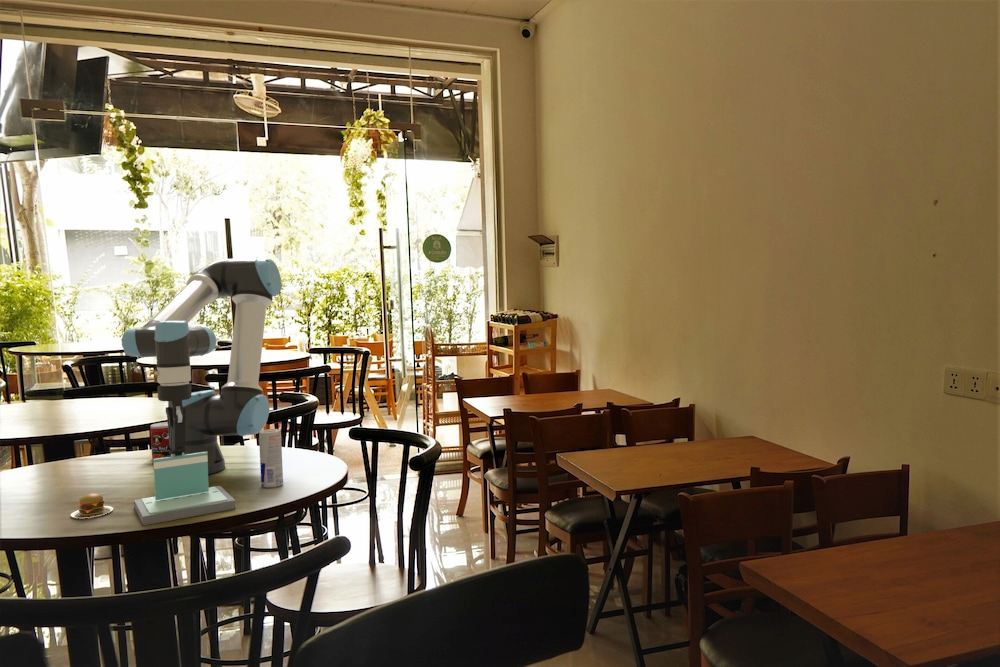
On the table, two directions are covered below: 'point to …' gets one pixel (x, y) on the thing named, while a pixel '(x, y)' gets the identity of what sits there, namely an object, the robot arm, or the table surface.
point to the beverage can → (271, 458)
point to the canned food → (160, 440)
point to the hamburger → (91, 506)
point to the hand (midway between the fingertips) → (178, 478)
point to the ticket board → (183, 506)
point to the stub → (181, 475)
